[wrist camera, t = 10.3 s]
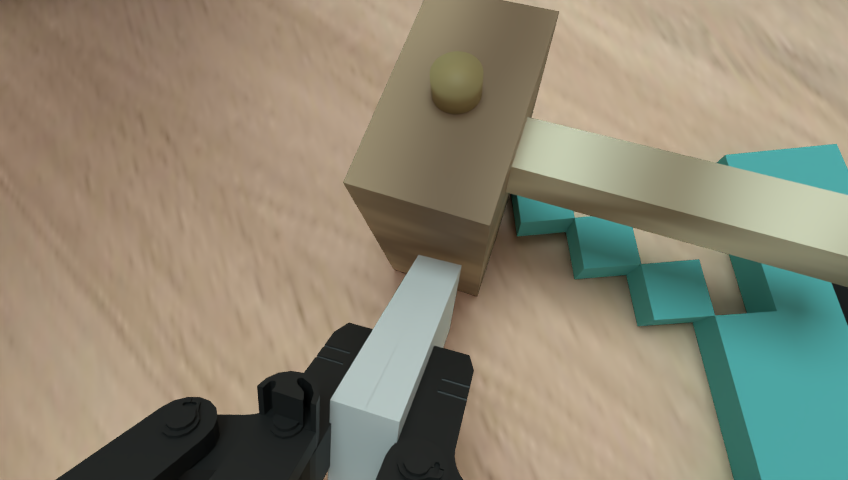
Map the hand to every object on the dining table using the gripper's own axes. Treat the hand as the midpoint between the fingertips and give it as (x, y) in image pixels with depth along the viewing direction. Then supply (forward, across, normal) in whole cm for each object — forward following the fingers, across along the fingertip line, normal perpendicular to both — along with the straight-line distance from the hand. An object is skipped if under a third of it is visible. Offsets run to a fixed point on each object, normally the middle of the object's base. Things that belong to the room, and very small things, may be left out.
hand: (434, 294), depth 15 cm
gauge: (+6, +5, 0) cm, 8 cm away
